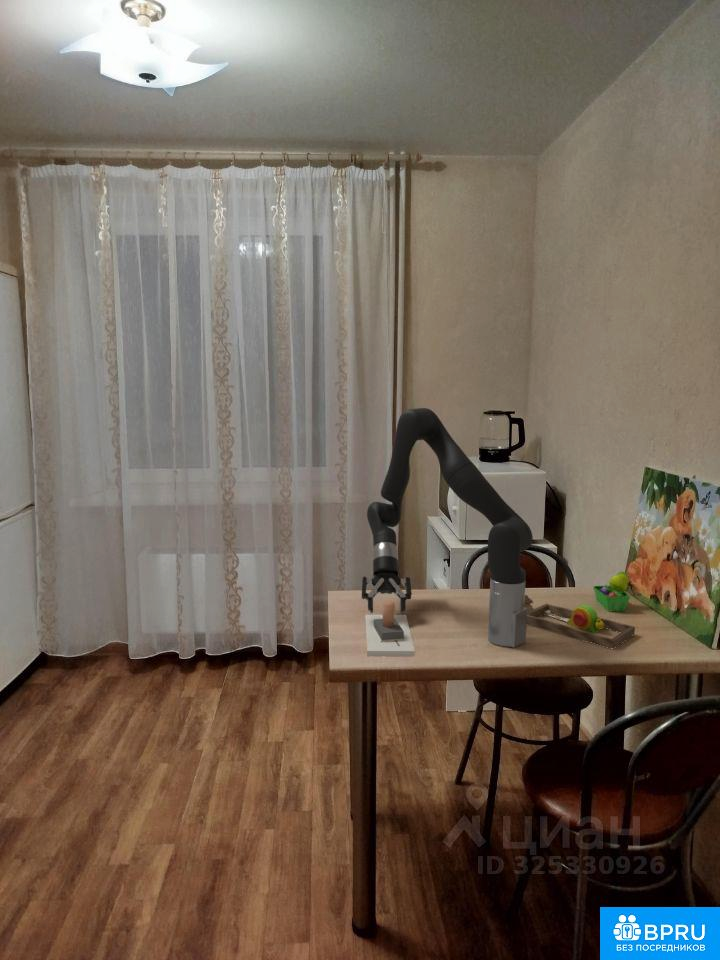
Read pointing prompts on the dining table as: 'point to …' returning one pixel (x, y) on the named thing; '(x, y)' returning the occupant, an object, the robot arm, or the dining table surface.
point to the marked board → (388, 647)
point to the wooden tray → (577, 633)
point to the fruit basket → (613, 593)
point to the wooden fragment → (526, 604)
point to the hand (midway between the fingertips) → (386, 611)
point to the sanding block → (388, 624)
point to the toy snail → (583, 618)
